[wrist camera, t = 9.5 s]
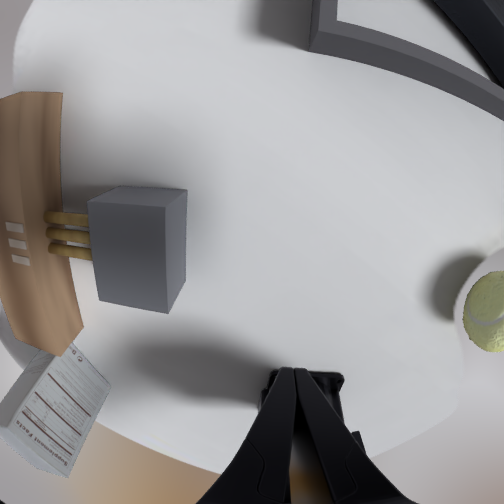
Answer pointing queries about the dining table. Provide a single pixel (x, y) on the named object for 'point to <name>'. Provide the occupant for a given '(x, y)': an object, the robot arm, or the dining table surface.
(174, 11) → the dining table surface
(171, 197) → the box
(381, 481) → the robot arm
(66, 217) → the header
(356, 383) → the dining table surface
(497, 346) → the tennis ball
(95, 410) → the supplement box
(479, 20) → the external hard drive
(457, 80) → the bumper frame
